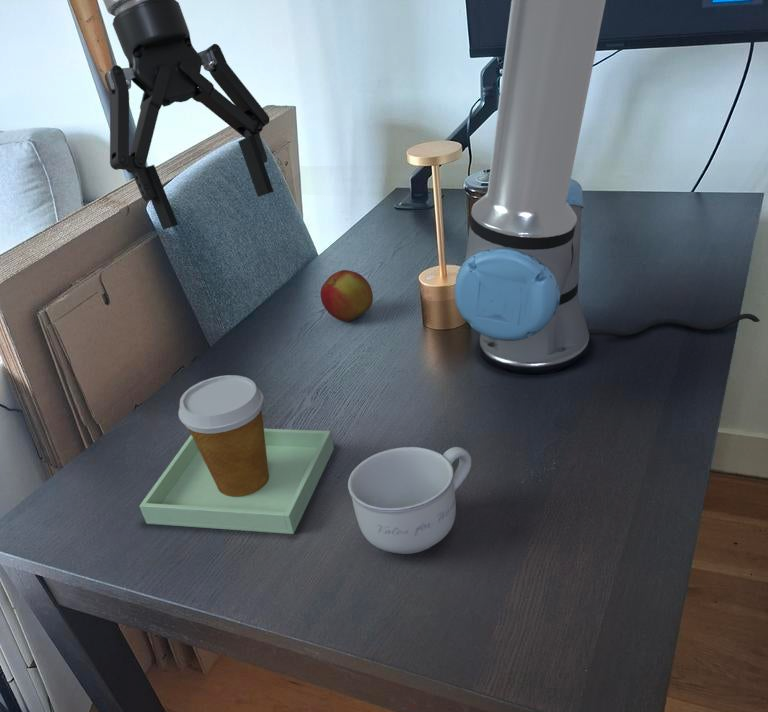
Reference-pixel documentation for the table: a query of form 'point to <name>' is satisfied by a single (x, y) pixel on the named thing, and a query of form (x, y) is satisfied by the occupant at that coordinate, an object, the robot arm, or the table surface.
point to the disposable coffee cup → (228, 432)
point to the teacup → (407, 496)
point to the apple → (346, 295)
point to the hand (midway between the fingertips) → (220, 210)
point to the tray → (251, 512)
